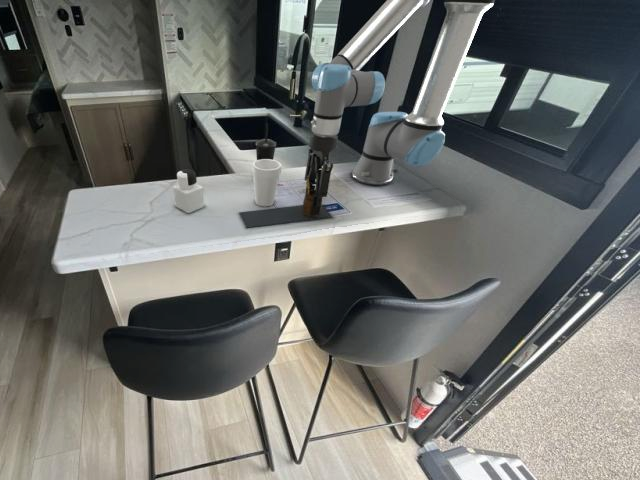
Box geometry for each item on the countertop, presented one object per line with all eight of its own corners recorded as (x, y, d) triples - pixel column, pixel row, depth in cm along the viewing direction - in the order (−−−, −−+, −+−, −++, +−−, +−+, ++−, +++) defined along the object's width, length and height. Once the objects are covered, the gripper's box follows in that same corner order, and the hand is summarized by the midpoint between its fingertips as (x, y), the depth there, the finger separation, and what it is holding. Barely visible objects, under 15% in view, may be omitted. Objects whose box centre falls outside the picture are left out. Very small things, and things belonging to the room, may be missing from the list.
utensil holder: (323, 216, 105) (330, 180, 97) (305, 218, 104) (311, 182, 96) (315, 207, 109) (321, 172, 101) (298, 210, 108) (303, 174, 100)
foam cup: (276, 209, 109) (279, 171, 100) (249, 207, 110) (250, 168, 101) (279, 197, 116) (282, 160, 107) (253, 194, 117) (255, 158, 108)
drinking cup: (274, 184, 124) (278, 127, 110) (254, 184, 124) (256, 127, 110) (272, 176, 129) (277, 120, 115) (253, 175, 129) (255, 120, 115)
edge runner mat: (320, 204, 112) (320, 203, 112) (332, 217, 105) (332, 216, 105) (239, 213, 107) (239, 212, 107) (246, 228, 100) (246, 227, 100)
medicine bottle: (191, 199, 114) (188, 165, 106) (204, 206, 110) (202, 171, 102) (175, 206, 110) (170, 171, 102) (188, 214, 107) (184, 178, 98)
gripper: (300, 124, 96) (291, 197, 112) (324, 145, 82) (310, 225, 98) (324, 123, 97) (312, 195, 113) (351, 143, 84) (333, 223, 99)
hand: (311, 209), depth 106 cm, fingers closed on utensil holder, 6 cm apart
